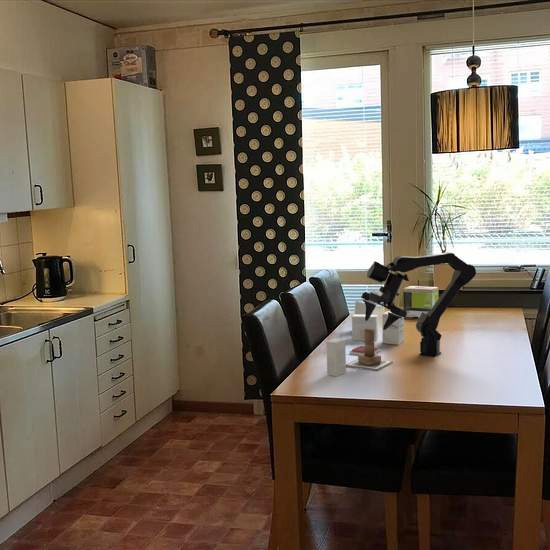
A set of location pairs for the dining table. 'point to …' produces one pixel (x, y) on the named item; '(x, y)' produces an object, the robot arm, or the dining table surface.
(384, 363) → the marked board
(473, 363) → the dining table surface
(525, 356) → the dining table surface
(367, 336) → the walnut stamp
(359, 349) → the ink pad
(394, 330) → the supplement box
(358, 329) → the skincare box
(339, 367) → the skincare box
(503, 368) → the dining table surface
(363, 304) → the smart speaker
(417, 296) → the tea box
